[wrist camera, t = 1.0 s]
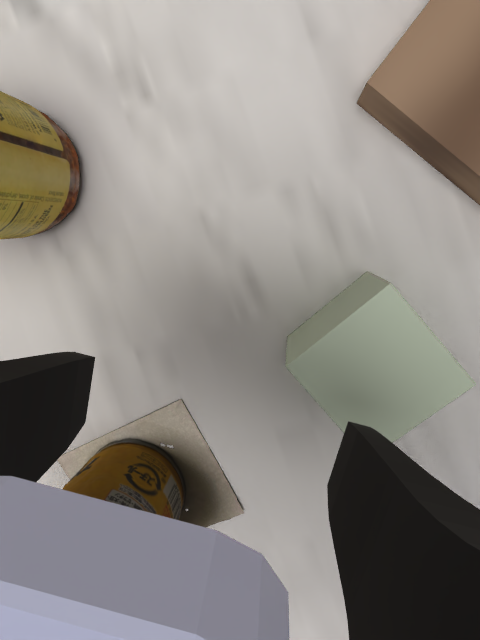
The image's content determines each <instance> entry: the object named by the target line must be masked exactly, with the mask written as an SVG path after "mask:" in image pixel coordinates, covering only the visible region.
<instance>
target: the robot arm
mask: <svg viewBox="0 0 480 640" xmlns="http://www.w3.org/2000/svg"><path fill="white" fill-rule="evenodd" d="M94 361H95V357H92V356H88V355H84V354H80V353H76V352H60V353H52V354H45V355H38V356H32V357H26V358H20V359H13V360H7V361H0V640H289V605H288V591H287V590H286V588H285V587H284V585H283V584H282V582H281V581H280V579H279V578H278V576H277V575H276V574H275V572H274V571H273V569H272V568H271V566H270V565H269V563H268V562H267V560H266V559H265V558H264V556H263V555H262V554H261V553H259V552H257V551H255V550H253V549H251V548H249V547H248V546H246V545H244V544H242V543H240V542H238V541H236V540H234V539H232V538H230V537H228V536H227V535H225V534H223V533H221V532H219V531H217V530H213V529H209V528H205V527H202V526H198V525H194V524H190V523H187V522H183V521H179V520H175V519H172V518H168V517H164V516H160V515H157V514H153V513H149V512H145V511H141V510H138V509H134V508H130V507H126V506H123V505H119V504H115V503H111V502H108V501H104V500H100V499H96V498H93V497H89V496H85V495H81V494H77V493H74V492H70V491H66V490H62V489H59V488H55V487H51V486H47V485H44V484H40V483H36V482H37V481H38V480H39V479H40V478H41V477H42V475H43V474H44V473H45V472H46V471H47V470H48V469H49V468H50V467H51V466H52V465H53V464H54V463H55V462H56V461H57V459H58V458H59V457H60V456H61V455H62V454H63V453H64V452H65V451H66V450H67V448H68V447H69V445H70V444H71V443H72V441H73V440H74V439H75V437H76V436H77V434H78V433H79V431H80V430H81V428H82V427H83V425H84V424H85V421H86V414H87V407H88V401H89V394H90V388H91V381H92V375H93V368H94ZM327 486H328V511H329V522H330V527H331V533H332V538H333V543H334V549H335V554H336V559H337V564H338V569H339V574H340V579H341V584H342V589H343V594H344V600H345V606H346V613H347V619H348V630H349V640H480V509H478V508H477V507H475V506H473V505H472V504H470V503H469V502H467V501H466V500H464V499H463V498H461V497H460V496H459V495H457V494H456V493H454V492H453V491H452V490H450V489H449V488H448V487H446V486H445V485H444V484H442V483H441V482H440V481H438V480H437V479H436V478H434V477H433V476H432V475H430V474H429V473H428V472H427V471H425V470H424V469H423V468H422V467H420V466H419V465H418V464H417V463H416V462H414V461H413V460H412V459H411V458H410V457H408V456H407V455H406V454H405V453H404V452H402V451H401V450H400V449H399V448H398V447H396V446H395V445H394V444H393V443H392V442H390V441H389V440H388V439H387V438H386V437H384V436H383V435H382V434H380V433H379V432H378V431H376V430H375V429H373V428H371V427H369V426H365V425H361V424H357V423H353V422H349V421H348V423H347V426H346V429H345V433H344V436H343V439H342V442H341V445H340V448H339V451H338V454H337V457H336V461H335V464H334V467H333V470H332V473H331V476H330V479H329V482H328V485H327Z"/></svg>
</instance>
